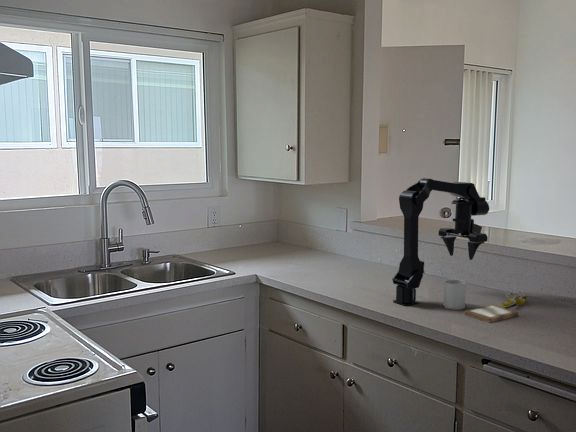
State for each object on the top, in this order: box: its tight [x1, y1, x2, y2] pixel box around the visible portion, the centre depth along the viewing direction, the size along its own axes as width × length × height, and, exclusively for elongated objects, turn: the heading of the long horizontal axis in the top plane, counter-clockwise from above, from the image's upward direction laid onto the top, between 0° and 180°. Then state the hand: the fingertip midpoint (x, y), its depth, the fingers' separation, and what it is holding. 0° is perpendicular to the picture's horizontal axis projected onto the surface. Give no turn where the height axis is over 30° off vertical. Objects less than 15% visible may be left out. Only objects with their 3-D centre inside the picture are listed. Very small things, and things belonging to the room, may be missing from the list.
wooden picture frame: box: [463, 304, 519, 323], centre depth 189 cm, size 14×10×1 cm
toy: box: [500, 291, 528, 309], centre depth 202 cm, size 5×5×15 cm
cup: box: [442, 279, 467, 311], centre depth 198 cm, size 7×10×9 cm
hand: (461, 257), depth 213 cm, fingers open, 9 cm apart
